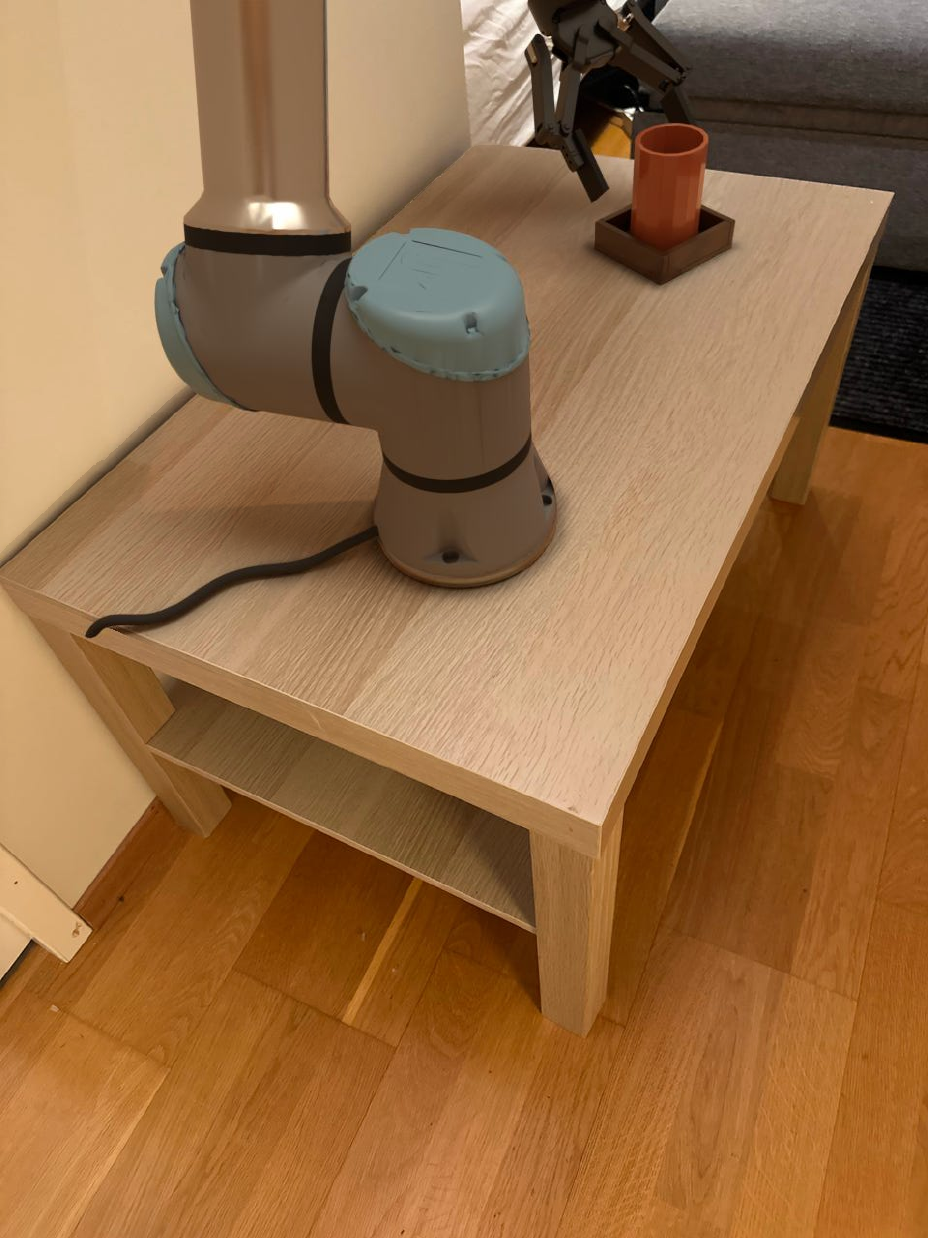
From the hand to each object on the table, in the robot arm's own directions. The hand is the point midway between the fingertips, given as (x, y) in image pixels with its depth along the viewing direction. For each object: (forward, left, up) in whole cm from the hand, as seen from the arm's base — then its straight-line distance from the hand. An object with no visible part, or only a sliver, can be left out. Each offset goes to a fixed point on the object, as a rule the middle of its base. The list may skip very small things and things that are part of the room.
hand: (649, 173), depth 95 cm
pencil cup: (0, -3, -7) cm, 7 cm away
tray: (0, -3, -7) cm, 8 cm away
